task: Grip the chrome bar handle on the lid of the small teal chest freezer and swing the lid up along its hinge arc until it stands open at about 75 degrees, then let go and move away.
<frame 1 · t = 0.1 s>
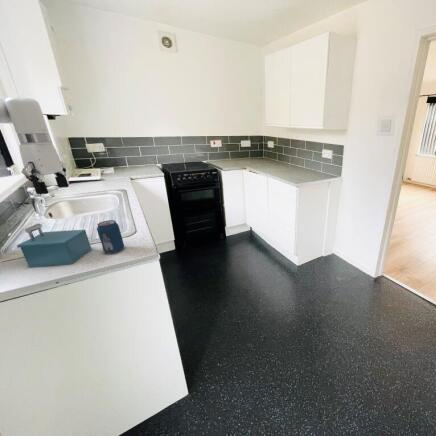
hand: (53, 190, 86), 26 cm above the countertop, tool pointing down, fingers open, 9 cm apart
freezer lid: (51, 231, 90), point 11 cm above the countertop, hinge at 0.0°
soda can: (114, 250, 98), on the countertop
freezer: (62, 257, 93), on the countertop
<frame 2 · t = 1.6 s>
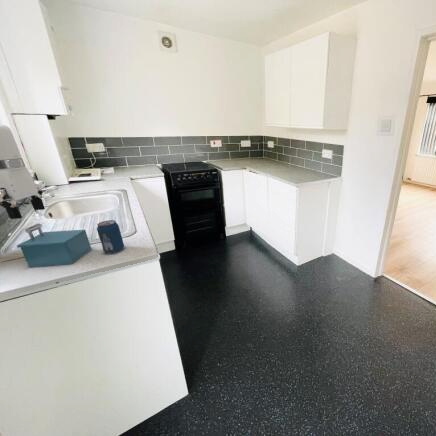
hand: (28, 213, 86), 18 cm above the countertop, tool pointing down, fingers open, 9 cm apart
nothing on the countertop moved.
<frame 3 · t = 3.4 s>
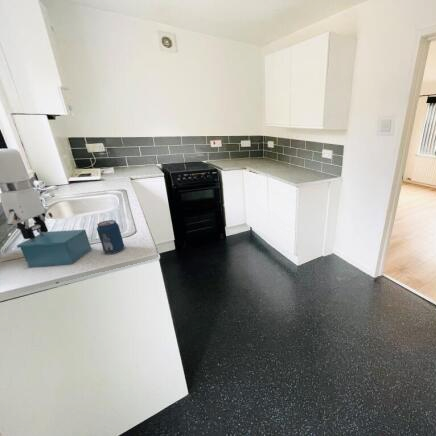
hand: (36, 234, 89), 10 cm above the countertop, tool pointing down, fingers closed on freezer lid, 5 cm apart
freezer lid: (51, 231, 90), point 11 cm above the countertop, hinge at 0.0°, touching gripper
everything else where it was.
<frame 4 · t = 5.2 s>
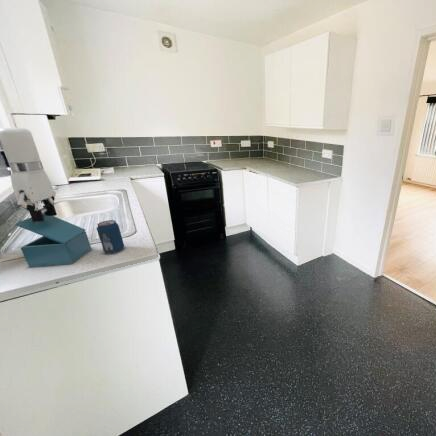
hand: (45, 217, 88), 16 cm above the countertop, tool pointing down, fingers closed on freezer lid, 5 cm apart
freezer lid: (55, 222, 89), point 14 cm above the countertop, hinge at 33.8°, touching gripper
everything else where it was.
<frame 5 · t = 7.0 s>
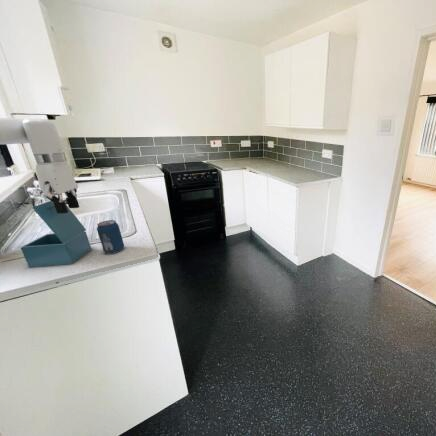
hand: (68, 209, 88), 19 cm above the countertop, tool pointing down, fingers open, 5 cm apart
freezer lid: (67, 217, 89), point 16 cm above the countertop, hinge at 69.8°
everything else where it was.
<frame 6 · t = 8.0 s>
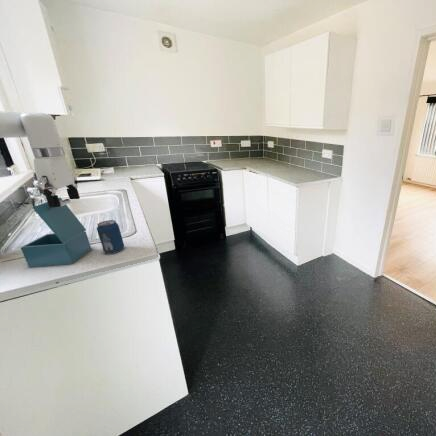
hand: (65, 202, 87), 21 cm above the countertop, tool pointing down, fingers open, 9 cm apart
nothing on the countertop moved.
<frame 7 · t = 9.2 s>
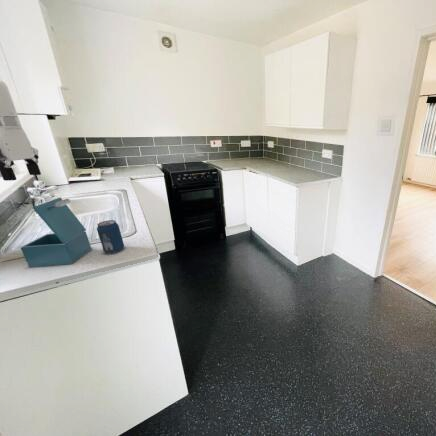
hand: (23, 177, 82), 31 cm above the countertop, tool pointing down, fingers open, 9 cm apart
nothing on the countertop moved.
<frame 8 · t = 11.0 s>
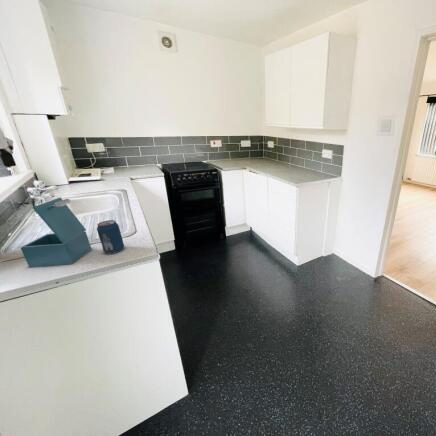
nothing on the countertop moved.
at the end: freezer lid at +70° (first picture: +0°); soda can moved 0.2 cm from its start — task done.
